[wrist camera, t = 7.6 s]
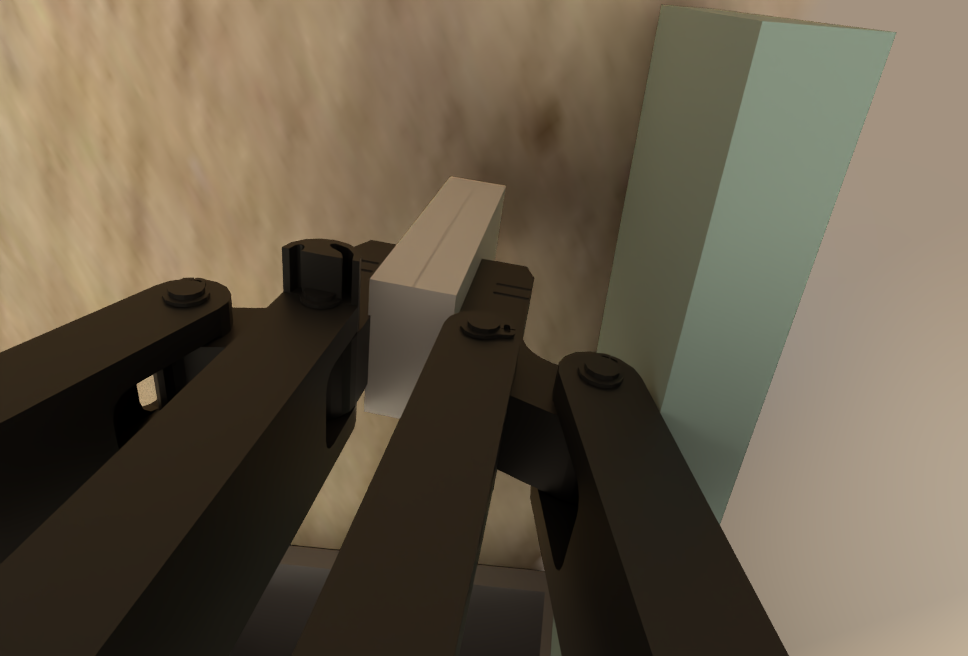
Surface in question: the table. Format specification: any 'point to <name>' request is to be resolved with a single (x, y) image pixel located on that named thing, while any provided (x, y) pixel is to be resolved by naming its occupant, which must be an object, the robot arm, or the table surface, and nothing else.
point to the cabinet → (488, 629)
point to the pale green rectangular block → (730, 215)
